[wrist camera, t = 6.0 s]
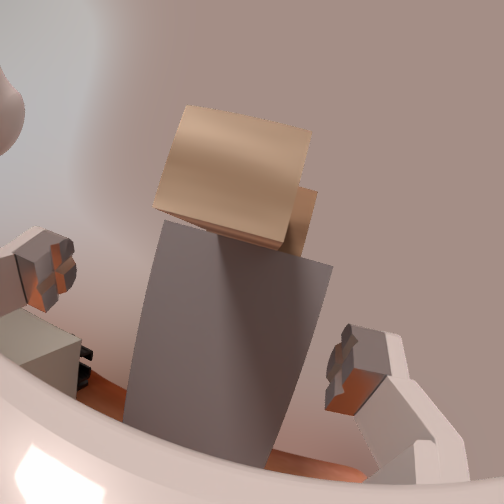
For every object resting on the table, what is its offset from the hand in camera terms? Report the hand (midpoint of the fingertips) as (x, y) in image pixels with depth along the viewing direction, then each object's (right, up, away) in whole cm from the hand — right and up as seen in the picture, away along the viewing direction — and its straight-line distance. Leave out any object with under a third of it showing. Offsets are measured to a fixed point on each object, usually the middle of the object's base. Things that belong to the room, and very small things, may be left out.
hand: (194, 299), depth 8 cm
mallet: (+1, +2, +10) cm, 10 cm away
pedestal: (-5, -23, +15) cm, 28 cm away
